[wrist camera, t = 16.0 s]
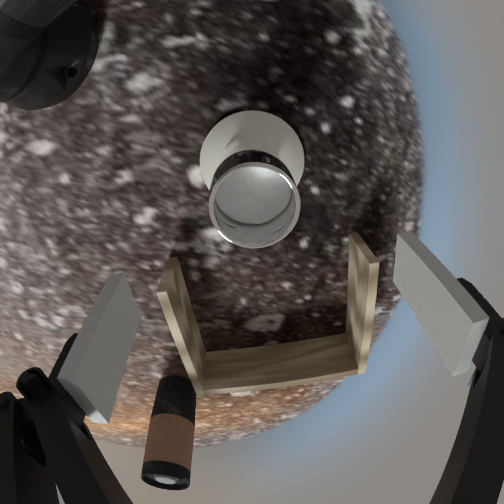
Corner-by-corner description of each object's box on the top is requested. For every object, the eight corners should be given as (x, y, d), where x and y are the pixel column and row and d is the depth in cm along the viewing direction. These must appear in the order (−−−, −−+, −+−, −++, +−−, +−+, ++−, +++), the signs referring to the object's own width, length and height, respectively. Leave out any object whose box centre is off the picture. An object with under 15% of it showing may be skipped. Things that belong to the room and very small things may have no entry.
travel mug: (152, 389, 56) (134, 481, 38) (165, 369, 53) (147, 469, 35) (188, 403, 58) (179, 493, 40) (204, 383, 55) (198, 482, 37)
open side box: (169, 257, 42) (156, 292, 35) (357, 232, 41) (379, 262, 34) (200, 357, 51) (196, 395, 44) (351, 337, 51) (365, 372, 43)
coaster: (192, 119, 34) (191, 119, 33) (297, 104, 34) (298, 105, 33) (210, 215, 40) (209, 217, 39) (307, 202, 39) (308, 204, 39)
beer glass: (271, 195, 38) (289, 258, 25) (213, 184, 37) (198, 242, 24) (285, 139, 35) (315, 172, 22) (224, 126, 34) (215, 150, 21)
